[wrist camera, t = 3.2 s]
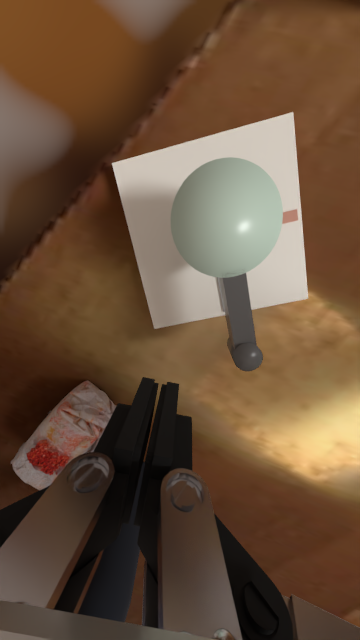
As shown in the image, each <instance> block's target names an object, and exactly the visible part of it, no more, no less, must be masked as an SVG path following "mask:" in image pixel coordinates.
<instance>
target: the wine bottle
mask: <svg viewBox="0 0 360 640" xmlns="http://www.w3.org/2000/svg"><path fill="white" fill-rule="evenodd" d="M144 466H145V462H143V464H142V468H141V473H140V477H139V481H138V486H137V490H136V494H135V498H134V503H133V507H132V511H131V516H130V520H129V524H124V523H122V527H121V531H120V535H119V536H117V539H116V540H115V541H114V542H112V543H111V544H110V545H108V546H107V547H106V548H105V549H104V550H103V553H102V556H101V559H100V562H99V564H98V566H97V569H96V571H95V573H94V576H93V578H92V581H91V583H90V585H89V588H88V590H87V592H86V595H85V597H84V599H83V602H82V604H81V607H80V609H79V611H78V614H81V615H86V616H92V617H97V618H103V619H108V620H114V621H119V622H125V619H126V616H127V612H128V609H129V605H130V602H131V596H132V591H133V585H134V580H135V574H136V569H137V563H138V557H139V552H140V548H139V546H138V544H137V541H138V534H139V529H140V526H135V525H134V520H135V515H136V509H137V504H138V498H139V493H140V487H141V482H142V477H143V471H144Z"/></svg>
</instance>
